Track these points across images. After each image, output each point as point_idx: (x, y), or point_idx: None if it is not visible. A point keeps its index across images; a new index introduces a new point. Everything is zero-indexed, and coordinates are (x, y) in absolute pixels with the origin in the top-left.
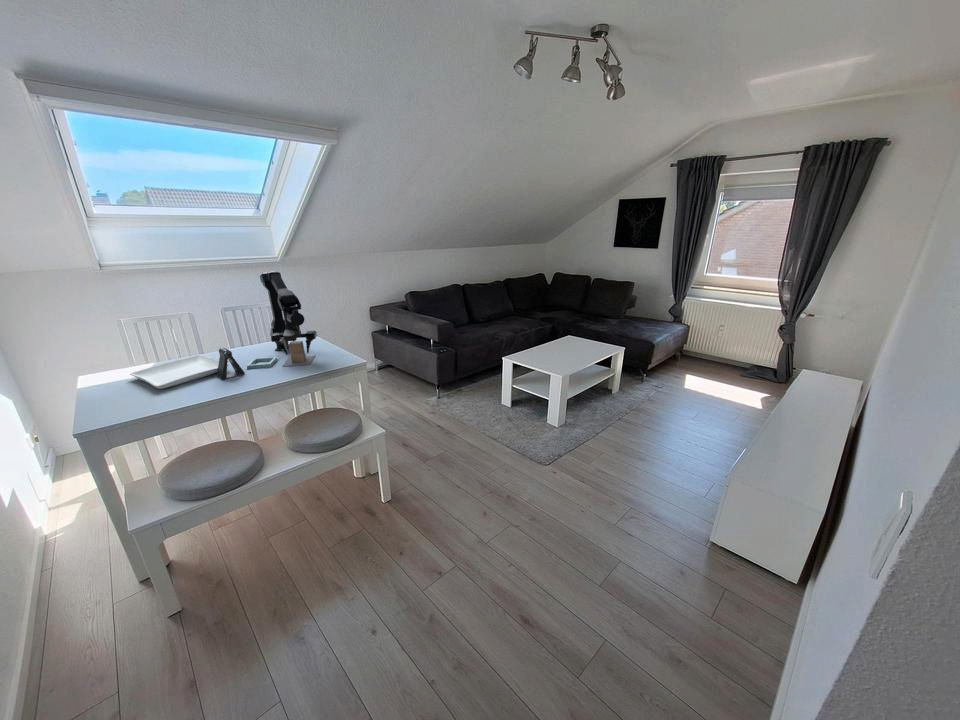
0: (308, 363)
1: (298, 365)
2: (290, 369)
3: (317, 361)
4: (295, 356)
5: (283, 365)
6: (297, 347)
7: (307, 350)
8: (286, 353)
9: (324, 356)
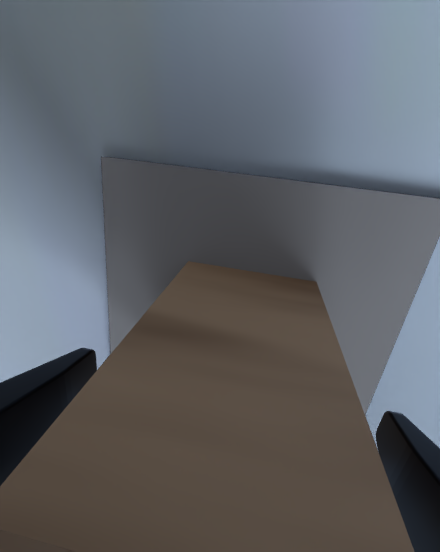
0: (120, 180)
1: (236, 173)
2: (338, 23)
3: (56, 246)
4: (260, 310)
5: (430, 216)
6: (149, 422)
7: (55, 368)
8: (406, 422)
9: (36, 361)
